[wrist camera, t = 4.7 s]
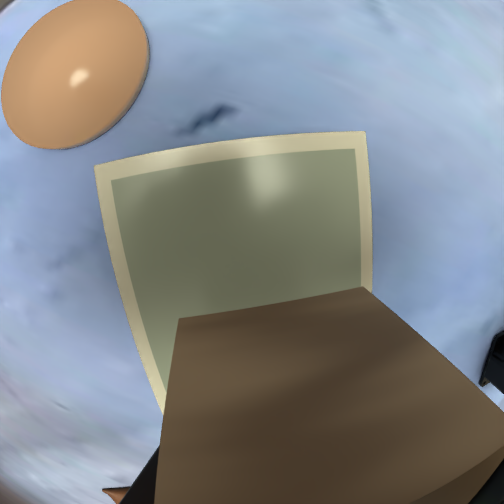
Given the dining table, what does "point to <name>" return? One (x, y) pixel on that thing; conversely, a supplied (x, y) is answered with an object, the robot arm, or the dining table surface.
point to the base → (233, 230)
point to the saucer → (75, 73)
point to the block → (320, 410)
